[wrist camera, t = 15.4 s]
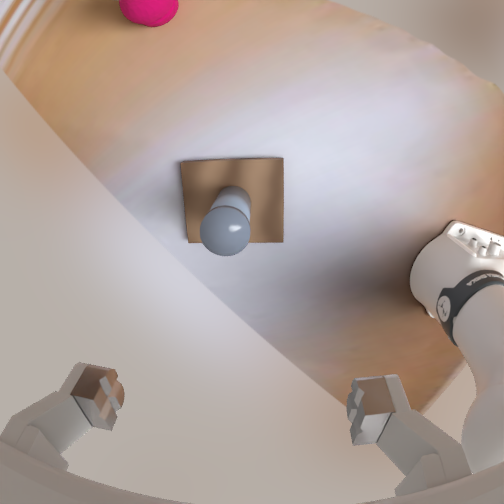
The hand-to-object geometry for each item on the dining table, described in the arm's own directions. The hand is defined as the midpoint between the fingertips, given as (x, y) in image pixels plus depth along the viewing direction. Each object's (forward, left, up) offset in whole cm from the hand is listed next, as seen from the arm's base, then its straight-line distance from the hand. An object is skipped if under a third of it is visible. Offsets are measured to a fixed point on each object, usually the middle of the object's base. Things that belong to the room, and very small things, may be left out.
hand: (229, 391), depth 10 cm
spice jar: (+4, +4, -35) cm, 36 cm away
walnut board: (+4, +4, -37) cm, 38 cm away
